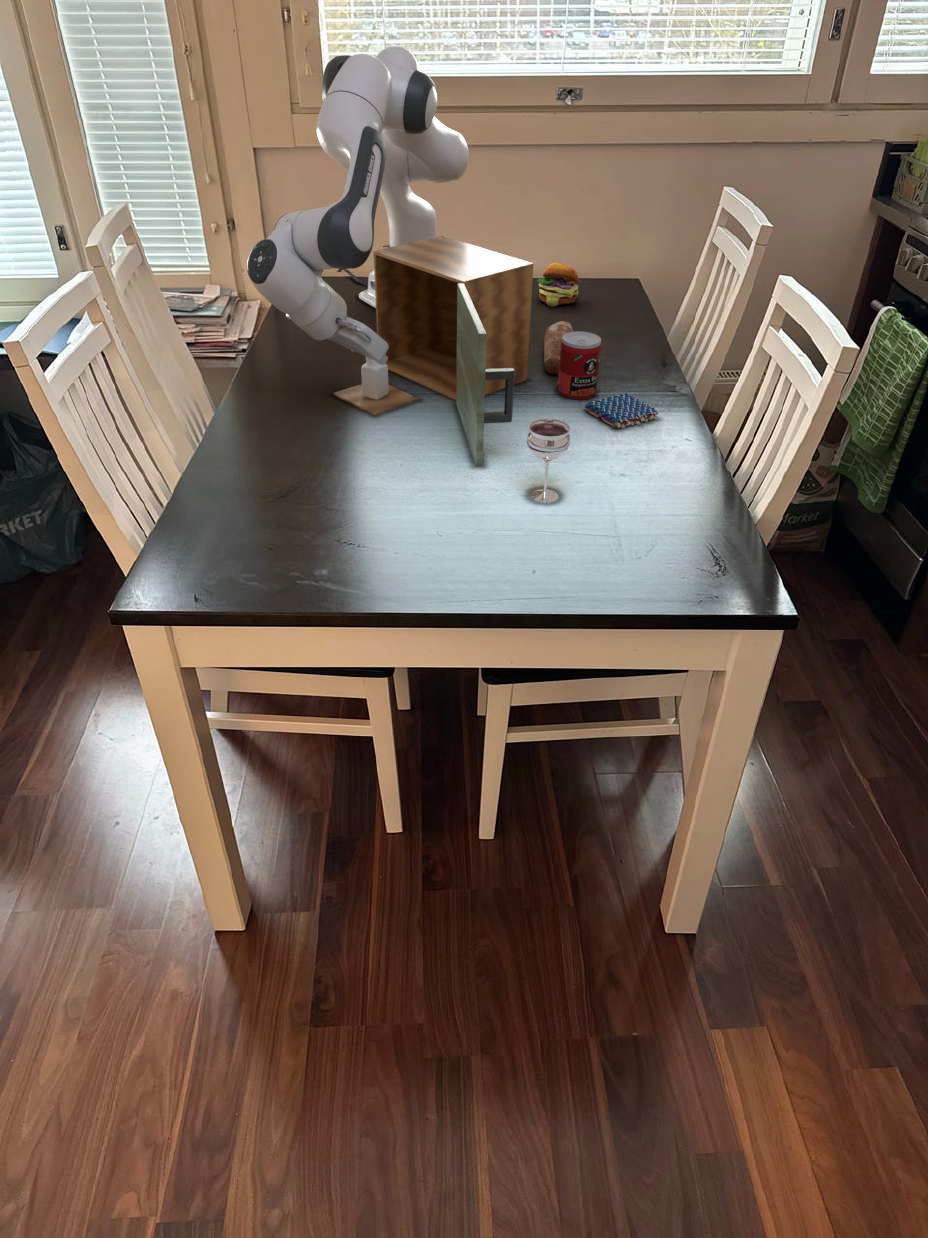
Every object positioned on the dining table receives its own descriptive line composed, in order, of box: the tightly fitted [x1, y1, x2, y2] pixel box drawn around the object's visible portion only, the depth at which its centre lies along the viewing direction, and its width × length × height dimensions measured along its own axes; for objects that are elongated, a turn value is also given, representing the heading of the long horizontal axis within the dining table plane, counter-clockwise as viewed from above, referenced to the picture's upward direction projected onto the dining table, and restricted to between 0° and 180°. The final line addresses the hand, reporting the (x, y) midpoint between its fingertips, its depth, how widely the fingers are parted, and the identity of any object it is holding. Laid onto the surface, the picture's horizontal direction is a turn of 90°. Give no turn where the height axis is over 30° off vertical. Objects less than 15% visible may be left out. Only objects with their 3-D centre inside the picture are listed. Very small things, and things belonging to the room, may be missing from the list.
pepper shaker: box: [360, 356, 390, 400], centre depth 177 cm, size 4×4×10 cm
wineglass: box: [526, 418, 572, 504], centre depth 146 cm, size 7×7×12 cm
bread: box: [543, 320, 575, 375], centre depth 196 cm, size 6×19×6 cm, turn 169°
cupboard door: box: [455, 283, 515, 467], centre depth 161 cm, size 6×26×23 cm, turn 8°
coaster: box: [333, 383, 420, 417], centre depth 180 cm, size 13×11×1 cm
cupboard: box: [372, 235, 534, 401], centre depth 184 cm, size 18×26×23 cm
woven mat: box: [584, 392, 659, 429], centre depth 174 cm, size 10×11×2 cm
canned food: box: [557, 330, 602, 401], centre depth 180 cm, size 8×8×11 cm
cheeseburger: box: [537, 262, 581, 308], centre depth 228 cm, size 10×11×10 cm
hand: (368, 354), depth 174 cm, fingers open, 8 cm apart
